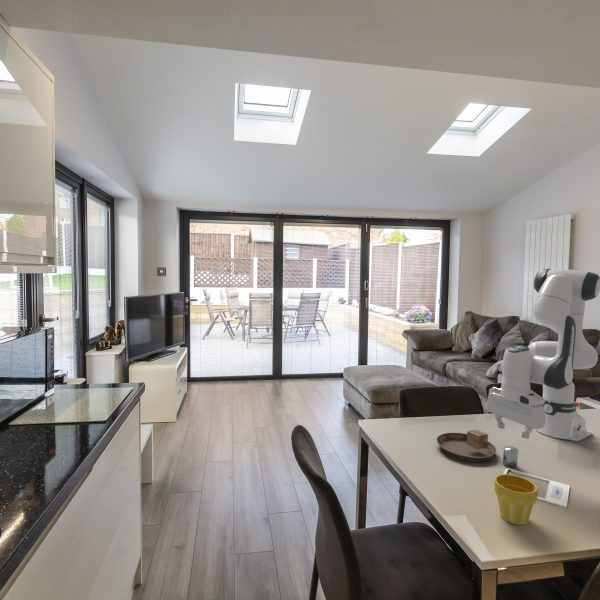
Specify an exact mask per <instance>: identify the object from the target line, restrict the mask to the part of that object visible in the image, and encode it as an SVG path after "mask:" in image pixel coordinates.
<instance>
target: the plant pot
mask: <svg viewBox="0 0 600 600" xmlns="http://www.w3.org/2000/svg"><path fill="white" fill-rule="evenodd" d="M493 488H494V489H493V490H494V493H495V494H496V496H497V502H498V506H499V507H498V508H499V513H500V516H501V518H502V519H503V520H505V521H506V522H508V523H510V524H514V525H520V526H522V525H527V524H528V523H529V520H530V516H531V514H532V510H533V507H534V505H535V504H536V503H537V501H538V499H537V497H538V494H539V493H538V486H537V484H535V483H534V482H533V481H531V480H530V479H528V478H525V477H523V476H520V475H515V474H510V473H506V474H504V473H501V474H498V475H496V476H495V478H494V486H493Z"/></svg>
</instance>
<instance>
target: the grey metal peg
mask: <svg viewBox="0 0 600 600" xmlns="http://www.w3.org/2000/svg"><path fill="white" fill-rule="evenodd" d="M518 455H519V448H516V447H514V446H512V445H511V446H510V445H505V446H503V453H502V457H503V458H502V465H503V466H504V467H505V468H509V469H517V468H518V459H519V457H518Z"/></svg>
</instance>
